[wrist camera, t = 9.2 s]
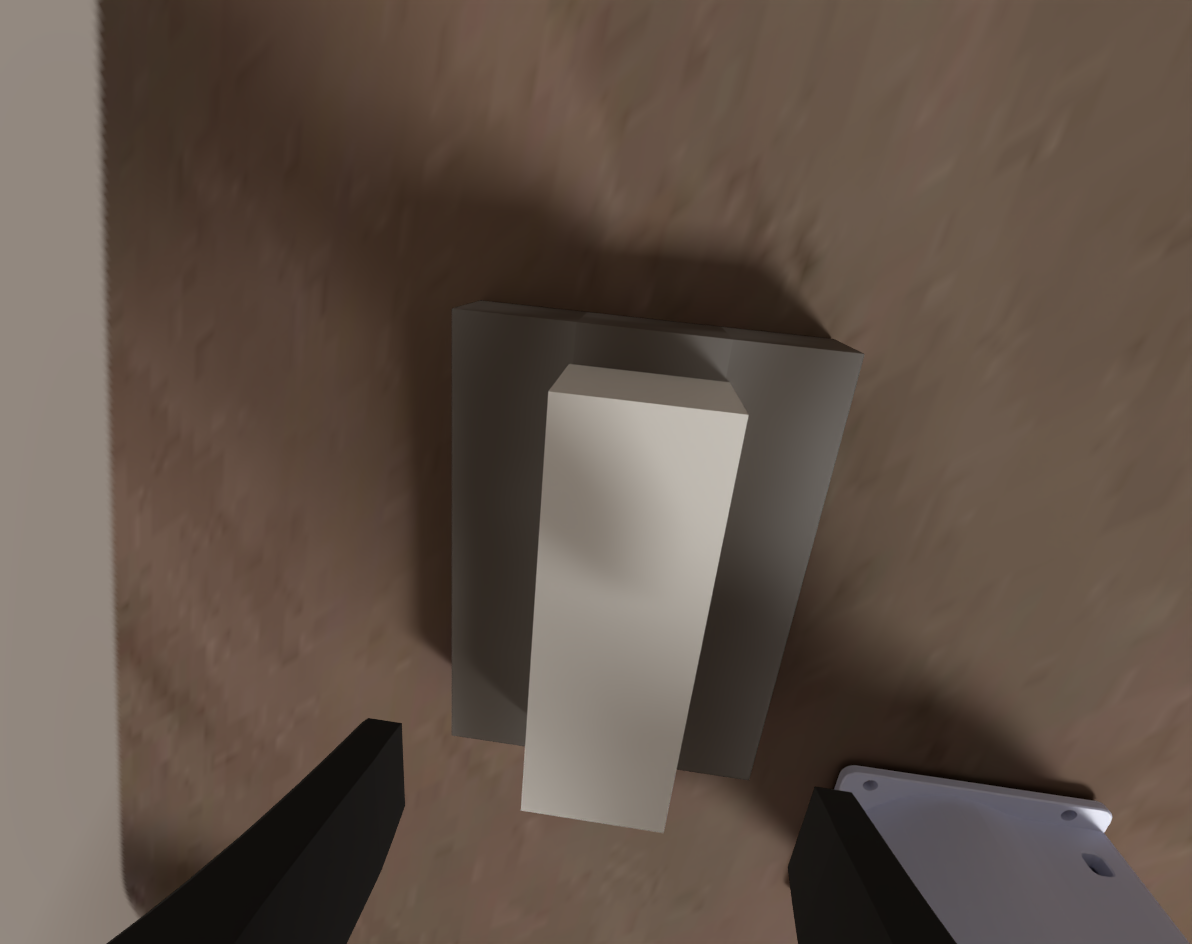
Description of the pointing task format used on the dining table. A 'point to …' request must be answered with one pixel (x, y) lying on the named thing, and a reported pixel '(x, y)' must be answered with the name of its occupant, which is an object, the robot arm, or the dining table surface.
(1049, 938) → the robot arm
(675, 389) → the cream rectangular block
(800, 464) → the socket board
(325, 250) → the dining table surface
